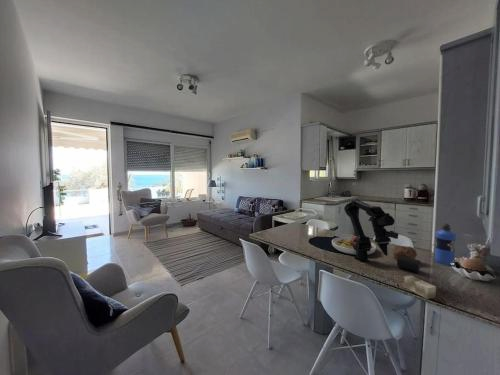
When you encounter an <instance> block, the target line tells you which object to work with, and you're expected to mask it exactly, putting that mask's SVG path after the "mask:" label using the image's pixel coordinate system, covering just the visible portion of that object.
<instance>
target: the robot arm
mask: <svg viewBox="0 0 500 375" xmlns="http://www.w3.org/2000/svg"><path fill="white" fill-rule="evenodd" d="M343 209H344V212H345V214H346V216H348V218H349V219H350V221H351V224H352V228H353V231H354V233H355V236H357V238H356V244H355V245H354V246H353V248H354V250H356V255H355V256H354V257H353V258H354V259H355V260H357V261H359V262H369V261H370V259H368V256H369V255H368V254H367V251H370V249H371V246H372V245H371V240H370V237H369V236H366V235H365V233H364V230H363V227H362V225H361V221H360V219H359V217H358V216H359V215H358V214H359V210H362V211H364V212H365V214H367V216H369V219H368V221H369V222H371V225H372V230H373V233H374V236H375V237H374V242H375V245H376V246H378V248H379V249H380V250H381V251H382V253H383V254H384V256H386V257H387V256H388V245H389V244H390V242H391V241H392V240H391V238H393V239H395V240H398V239H399V233H398V232H395V231H393V230H390V231H387V229H386V228H385V227H390V226H393V225H394V224H395V219H394V217H393V216H392V215H390V213H389V212H388V213H387V212H385V211H384V210H383V208H382V207H381V206H378V205H370V204H369V203H366V202H364V201H361V200H360V199H354V200H352V201H351V202H349V203H347V204H346V205H345V206H344V207H343Z"/></svg>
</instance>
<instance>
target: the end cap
mask: <svg viewBox="0 0 500 375" xmlns="http://www.w3.org/2000/svg"><path fill="white" fill-rule="evenodd" d="M421 264H422V262H421V260H419V259H416V258H415V259H414V260H411V259H408V258H407V257H398V260H396V265H397V268H399V269H403V270H405V271H410V272H413V273H417V274H419V273H420V272H421V270H420V269H421Z"/></svg>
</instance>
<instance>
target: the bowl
mask: <svg viewBox="0 0 500 375" xmlns="http://www.w3.org/2000/svg"><path fill="white" fill-rule="evenodd" d="M356 238H357V236H356V235H354V236H353V237H345V236H344V237H343V236H342V237H335V238H333V239H332V240H331V245H332V247H334V249H336V250H337V251H339V252H341V253H344V254H347V255H353V256H356V250H354V248H353V246H354V245H355V244H356ZM371 245H372V246H371V249H370V251H367V254H368V256H369V255H372V254H374V253H375V252H376V250H377V244H376V243H374V242H371Z"/></svg>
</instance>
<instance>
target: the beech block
mask: <svg viewBox="0 0 500 375" xmlns="http://www.w3.org/2000/svg"><path fill="white" fill-rule="evenodd" d="M401 282H402V284H401V285H402V287H404V288H406V289H407V290H409V291H411V292H413V293H415V294H417V295H419V296H421V297H423V298H425V299H427V300H428V299H434V298H436V297H437V296H436V293H437V286H436V285H433V284H431V283H428V282H427V281H424V280H422V279H420V278H418V277H416V276H414V275H411V274H408V275H403V276H402V281H401Z"/></svg>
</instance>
